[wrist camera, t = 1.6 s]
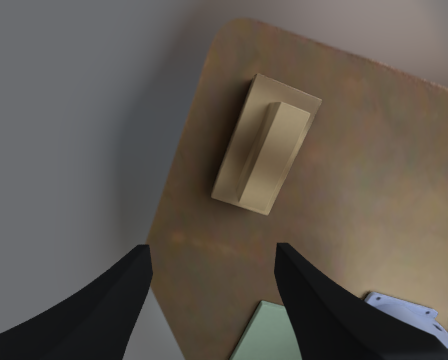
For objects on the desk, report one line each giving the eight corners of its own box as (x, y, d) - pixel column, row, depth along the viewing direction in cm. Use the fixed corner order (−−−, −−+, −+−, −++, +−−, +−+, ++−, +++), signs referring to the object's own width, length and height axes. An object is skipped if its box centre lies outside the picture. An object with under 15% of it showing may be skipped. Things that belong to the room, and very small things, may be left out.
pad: (328, 317, 26) (330, 322, 26) (283, 382, 30) (284, 387, 29) (261, 300, 25) (262, 304, 24) (223, 370, 29) (223, 375, 28)
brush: (251, 77, 17) (266, 64, 12) (308, 101, 18) (346, 98, 13) (211, 186, 20) (209, 214, 15) (261, 202, 21) (276, 235, 16)
